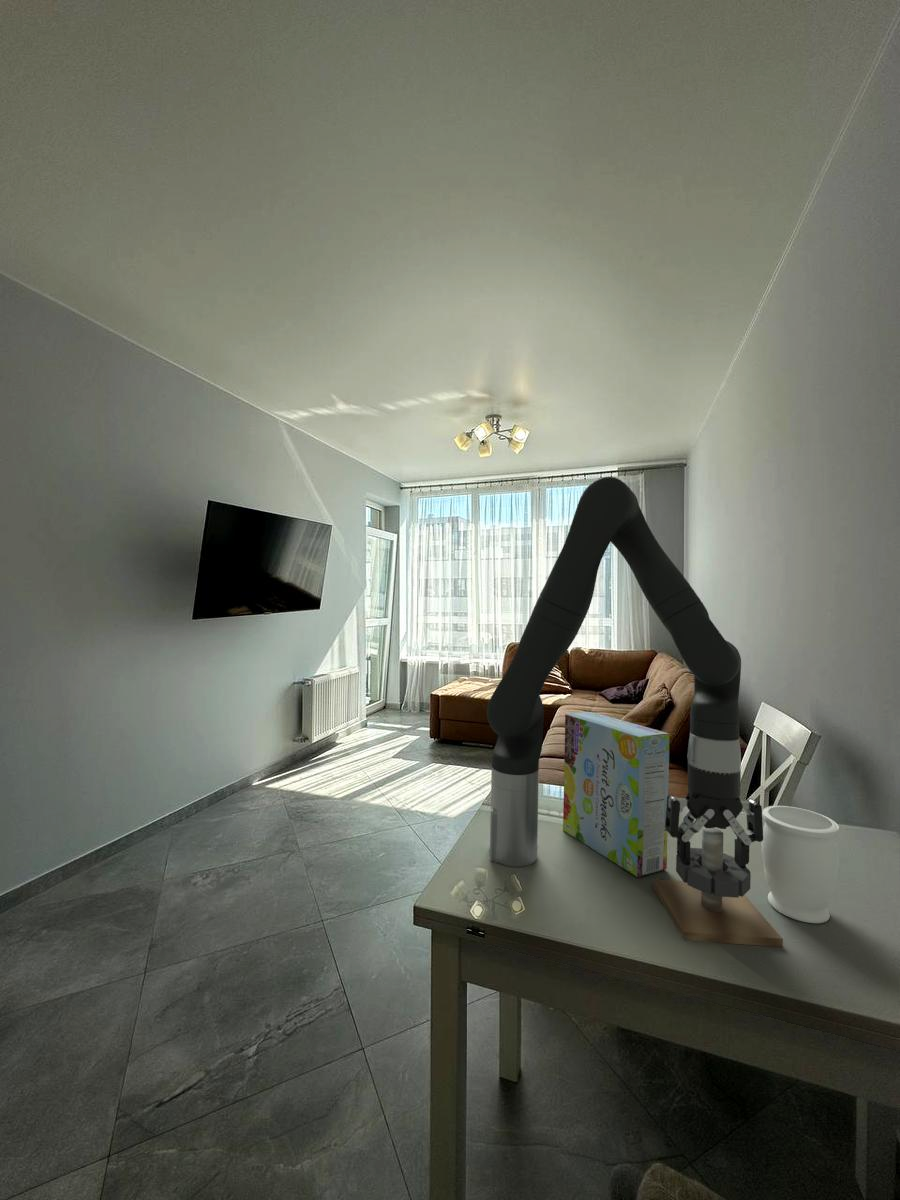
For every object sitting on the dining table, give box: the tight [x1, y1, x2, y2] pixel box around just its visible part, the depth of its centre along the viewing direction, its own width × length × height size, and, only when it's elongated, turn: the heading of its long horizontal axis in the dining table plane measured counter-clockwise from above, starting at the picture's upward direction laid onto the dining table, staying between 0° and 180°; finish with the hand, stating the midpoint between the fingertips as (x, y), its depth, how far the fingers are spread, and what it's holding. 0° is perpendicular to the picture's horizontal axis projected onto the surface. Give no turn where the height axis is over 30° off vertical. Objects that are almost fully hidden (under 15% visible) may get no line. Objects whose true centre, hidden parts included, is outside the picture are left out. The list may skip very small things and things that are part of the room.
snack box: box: [562, 711, 671, 878], centre depth 101 cm, size 22×9×26 cm, turn 26°
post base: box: [652, 827, 784, 948], centre depth 80 cm, size 14×14×13 cm
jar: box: [760, 805, 840, 924], centre depth 81 cm, size 11×10×15 cm
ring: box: [675, 847, 752, 898], centre depth 80 cm, size 10×10×2 cm
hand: (712, 863), depth 80 cm, fingers open, 8 cm apart
